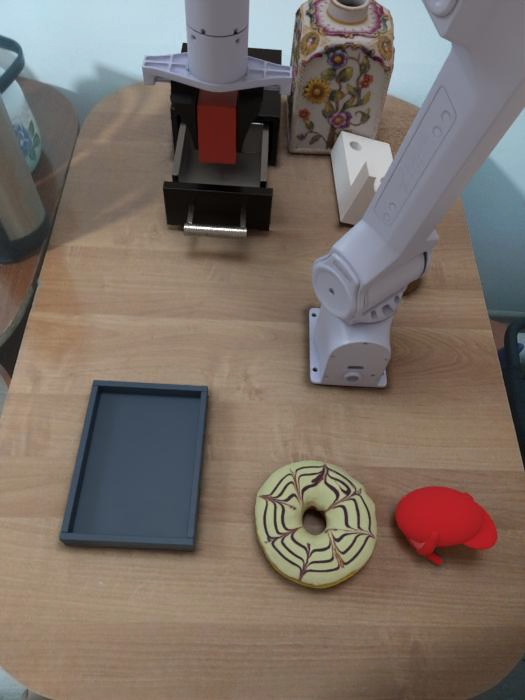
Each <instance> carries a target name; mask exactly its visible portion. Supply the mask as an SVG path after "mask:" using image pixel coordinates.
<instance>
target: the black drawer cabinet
mask: <svg viewBox="0 0 525 700" xmlns="http://www.w3.org/2000/svg"><path fill="white" fill-rule="evenodd" d="M184 52H188V49H187V42H182V45H181V50H180V53H184ZM248 56H250V57H254V58H257V59H261V60H264V61H268V62H271V63H275V64H279V65H283V63H282V62H283V61H282V60H283V59H282V58H283V49H275V48H260V47H249V46H248ZM281 105H282V95H281V94H280V93H279V91H276V90H264V92H263V105H262V108H261V110H260V113H259V114H258V115H257V117H256V118H255V119H254V120H257V121H269V144H268V166H272V167H276V165H277V155H278V146H279V137H280V136H279V135H280V124H281V108H282V107H281ZM169 112H170V113H169V114H170V124H171V135H172V144H173V155H174V156H173V157H175V152H176V146H177V140H178V134H179V128H180V122H181V117H180V115H179V114H178V112H177V111H176V110H175V109H174V108H173V106H172V104H171V103H170V107H169Z"/></svg>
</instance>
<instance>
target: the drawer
mask: <svg viewBox="0 0 525 700" xmlns="http://www.w3.org/2000/svg"><path fill="white" fill-rule="evenodd" d="M268 144H269V121H257V120H254V121H253V123H252V124H251V126H250V128H249V130H248V132H247V135H246V137H245V140H244V144H243V148H242V152H241V153H236V164H222V163H207V162H200V161H199V150H195V149H194V147H193V143H192V140H191V137H190V134H189V132H188V129H187V127H186V125H185V123H184V122H183V120H182V118H181V122H180V128H179V134H178V140H177V146H176V152H175V156H173V157H174V158H173V164H172V169H171V181H170V180H163V182H162V183H163V184H162V193H163V194H162V195H163V203H164V210H165V212H164V213H165V220H166V225H167V226H179V227H180V226H182V227H183V236H185V237H186V236H187V237H202V238H203V237H204V238H218V239H219V238H220V239H235V240H247V238H248V237H247V235H248V234H247V233H248V231H259V232H269V231H270V228H271V217H272V206H273V198H274V197H273V196H274V188H272V187H268V169H269V168H268V167H269V165H268Z"/></svg>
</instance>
